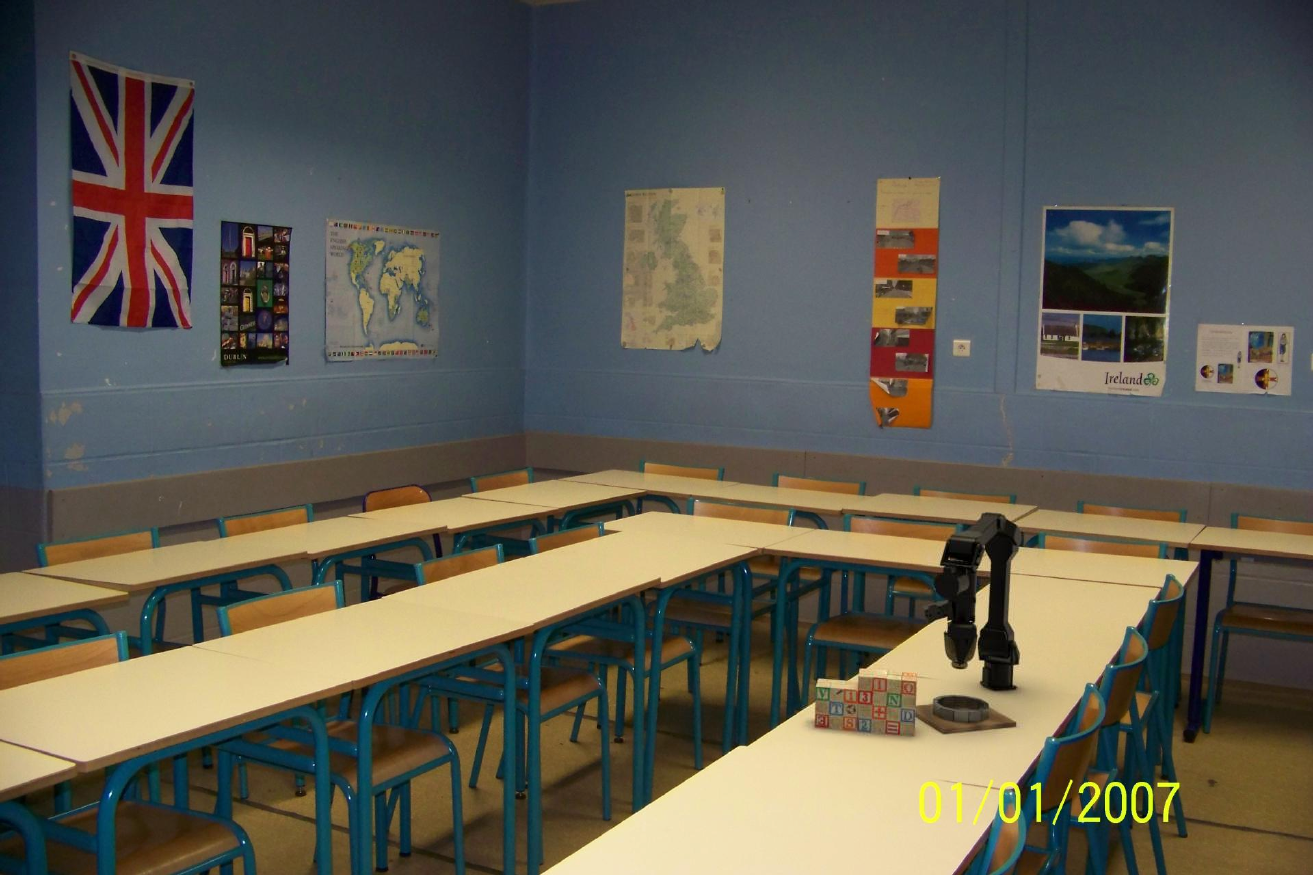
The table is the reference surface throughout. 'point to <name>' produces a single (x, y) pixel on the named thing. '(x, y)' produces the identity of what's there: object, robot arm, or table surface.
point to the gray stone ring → (960, 716)
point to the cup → (952, 652)
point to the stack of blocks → (868, 703)
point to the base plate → (946, 726)
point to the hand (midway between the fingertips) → (960, 660)
